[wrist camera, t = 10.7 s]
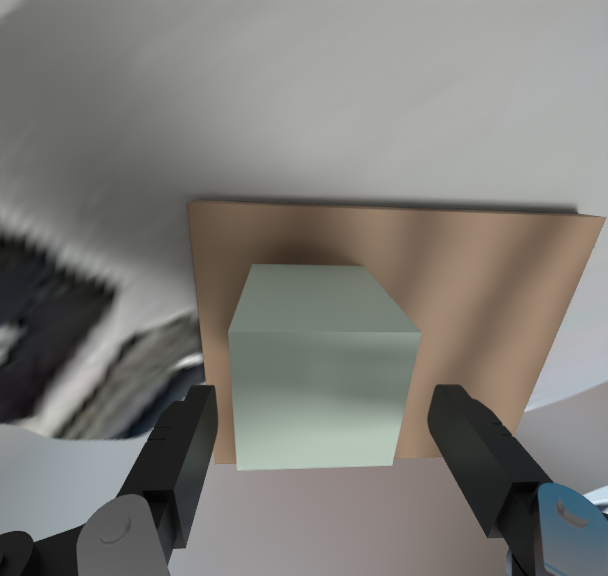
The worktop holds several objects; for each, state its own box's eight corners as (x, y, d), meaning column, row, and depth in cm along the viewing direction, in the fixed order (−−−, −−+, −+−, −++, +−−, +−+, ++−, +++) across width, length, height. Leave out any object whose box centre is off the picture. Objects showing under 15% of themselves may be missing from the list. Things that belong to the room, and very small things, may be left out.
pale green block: (364, 266, 15) (421, 332, 9) (352, 358, 18) (392, 465, 11) (252, 263, 15) (228, 332, 8) (255, 358, 17) (237, 470, 11)
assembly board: (579, 213, 17) (709, 231, 12) (492, 438, 23) (550, 512, 18) (195, 199, 15) (149, 212, 10) (219, 445, 22) (199, 528, 17)
